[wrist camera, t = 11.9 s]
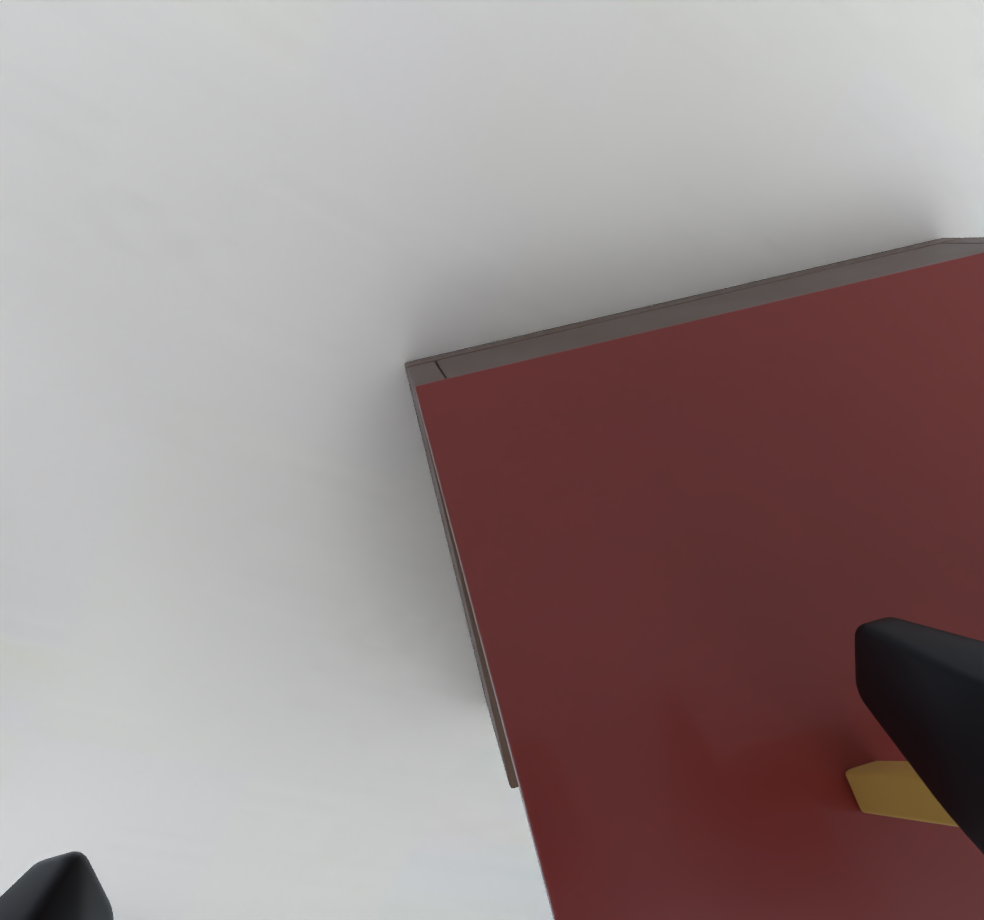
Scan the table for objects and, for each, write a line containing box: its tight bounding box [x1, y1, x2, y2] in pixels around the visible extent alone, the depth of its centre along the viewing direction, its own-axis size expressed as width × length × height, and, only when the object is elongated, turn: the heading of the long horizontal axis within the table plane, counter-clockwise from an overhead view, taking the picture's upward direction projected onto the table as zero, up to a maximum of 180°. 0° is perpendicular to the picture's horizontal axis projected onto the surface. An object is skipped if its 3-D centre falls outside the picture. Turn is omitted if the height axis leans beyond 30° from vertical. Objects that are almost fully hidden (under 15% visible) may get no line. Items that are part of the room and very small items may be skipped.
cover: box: [415, 252, 984, 920], centre depth 12 cm, size 12×17×6 cm
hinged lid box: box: [405, 237, 984, 788], centre depth 20 cm, size 12×17×4 cm
